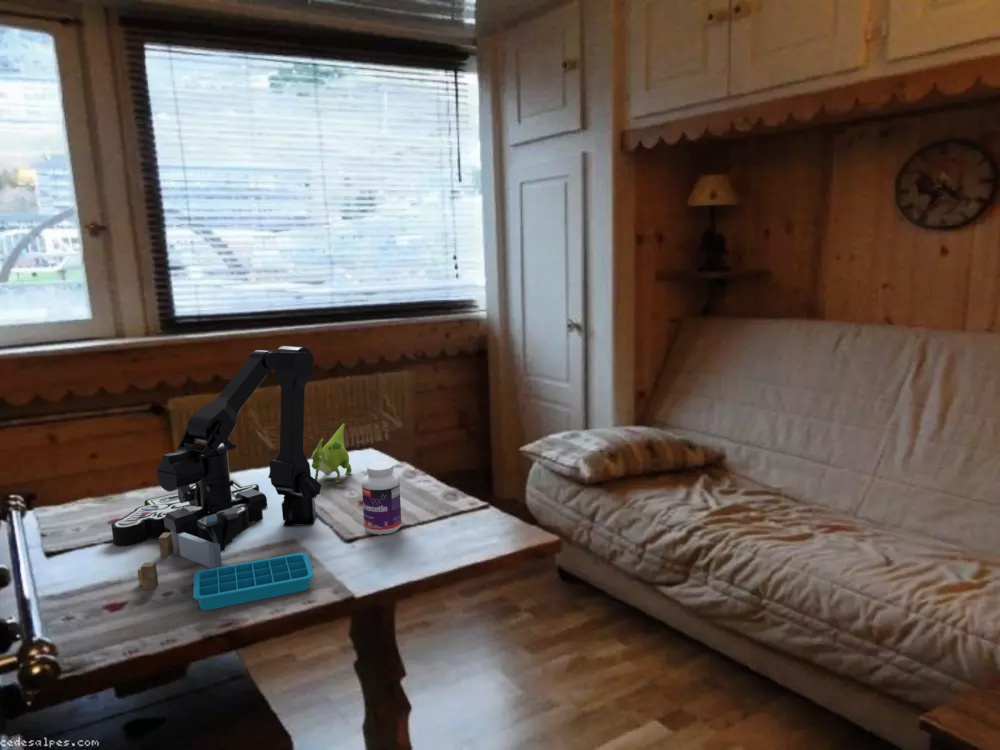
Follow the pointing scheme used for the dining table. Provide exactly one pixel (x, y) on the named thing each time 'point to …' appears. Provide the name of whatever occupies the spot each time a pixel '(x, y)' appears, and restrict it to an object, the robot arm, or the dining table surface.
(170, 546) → the brown angular block
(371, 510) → the pill bottle
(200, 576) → the ice cube tray
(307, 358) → the robot arm
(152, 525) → the decorative sign
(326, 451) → the toy
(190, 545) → the pale blue flat bar
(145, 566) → the wooden block
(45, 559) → the dining table surface
